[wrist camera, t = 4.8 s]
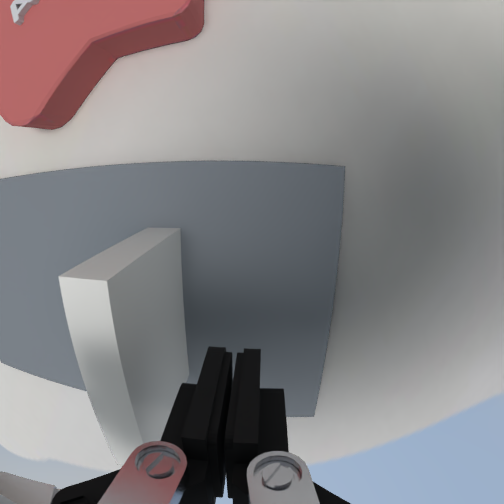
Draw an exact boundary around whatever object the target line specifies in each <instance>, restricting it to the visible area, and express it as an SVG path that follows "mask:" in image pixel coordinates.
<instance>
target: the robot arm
mask: <svg viewBox="0 0 504 504" xmlns="http://www.w3.org/2000/svg"><path fill="white" fill-rule="evenodd" d="M260 363H261V349H248V348H244V352H243V353H240V352H237V356H236V363H235V370H234V377H233V367H232V352H226V347H211V346H209V347H208V350H207V353H206V356H205V359H204V363H203V366H202V369H201V372H200V376H199V379H198V382H197V384H190V383H182V384H181V386H180V388H179V391H178V394H177V396H176V399H175V402H174V404H173V407H172V410H171V412H170V415H169V418H168V421H167V423H166V426H165V429H164V432H163V434H162V437H161V440H160V441H151V442H147V443H144V444H142V445H140V446H138V447H137V448H136V449H135V450H134V451H133V452H132V453H131V454H130V456H129V457H128V459H127V460H126V462H125V463H124V465H123V466H122V468H121V469H119V470H117V471H114V472H111V473H109V474H106V475H103V476H100V477H97V478H94V479H91V480H89V481H85V482H82V483H79V484H75V485H72V486H69V487H66V488H64V489H57V488H56V487H55V486H54V485H50V484H46V483H42V482H38V481H33V480H30V479H26V478H23V477H19V476H16V475H13V474H9V473H6V472H0V504H215V501H216V497H223V493H224V485H225V477H227V490H228V498H233V504H350V503H349V502H347V501H345V500H343V499H341V498H340V497H338V496H336V495H334V494H333V493H331V492H329V491H328V490H326V489H324V488H322V487H321V486H319V485H317V484H316V483H314V482H313V481H312V478H311V475H310V472H309V469H308V467H307V465H306V463H305V462H304V461H303V460H302V459H301V458H300V457H298V456H296V455H294V454H292V453H289V452H288V437H287V422H286V409H285V395H284V389H283V388H260Z"/></svg>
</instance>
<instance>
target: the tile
mask: <svg viewBox="0 0 504 504" xmlns="http://www.w3.org/2000/svg"><path fill="white" fill-rule="evenodd" d="M58 277H59V283H60V289H61V294H62V299H63V305H64V309H65V314H66V319H67V323H68V327H69V331H70V336H71V339H72V343H73V347H74V351H75V354H76V358H77V361H78V365H79V368H80V371H81V375H82V378H83V381H84V384H85V387H86V390H87V393H88V396H89V399H90V401H91V404H92V407H93V410H94V412H95V415H96V417H97V420H98V422H99V425H100V427H101V430H102V432H103V435H104V437H105V439H106V442H107V444H108V446H109V448H110V451H111V453H112V455H113V457H114V459H115V461H116V463H117V464H118V465H121V466H123V465H124V463H125V462H126V460H127V459H128V457H129V456H130V454H131V453H132V452H133V451H134V450H135V449H136V448H137V447H138V446H140V445H142V444H144V443H147V442H151V441H160V440H161V437H162V434H163V432H164V429H165V426H166V423H167V421H168V418H169V415H170V412H171V410H172V407H173V404H174V402H175V399H176V396H177V394H178V391H179V388H180V386H181V384H182V383H186V382H187V379H188V376H189V365H188V354H187V343H186V331H185V317H184V302H183V285H182V263H181V231H180V228H146V229H144V230H142V231H140V232H138V233H136V234H134V235H132V236H131V237H129V238H127V239H125V240H123V241H121V242H119V243H117V244H115V245H114V246H112V247H110V248H108V249H106V250H104V251H102V252H101V253H99V254H97V255H95V256H93V257H92V258H90V259H88V260H86V261H84V262H83V263H81V264H79V265H77V266H76V267H74V268H72V269H70V270H69V271H67V272H65V273H63V274H62V275H60V276H58Z"/></svg>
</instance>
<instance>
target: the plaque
mask: <svg viewBox="0 0 504 504" xmlns="http://www.w3.org/2000/svg"><path fill="white" fill-rule="evenodd" d="M203 25H204V0H0V115H1V116H2V117H3V119H4V120H5V121H6V122H7V123H9V124H11V125H12V126H22V127H32V128H42V129H51V130H52V129H56V128H59V127H62V126H63V125H64V124H66V123H67V122H68V121H69V120H70V119H71V118H72V117H73V116H74V115H75V113H76V112H77V110H78V109H79V107H80V106H81V104H82V103H83V102H84V100H85V99H86V97H87V96H88V95H89V93H90V92H91V91H92V89H93V88H94V86H95V85H96V84H97V83H98V81H99V80H100V79H101V77H102V76H103V75H104V74H105V72H106V71H107V70H108V69H109V67H110V66H111V65H112V64H113V62H114V61H115V60H116V59H117V58H119V57H123V56H126V55H129V54H133V53H136V52H140V51H143V50H147V49H151V48H155V47H159V46H163V45H167V44H172V43H176V42H181V41H186V40H189V39H191V38H194V37H196V36H197V35H198V34H199V33H200V32H201V30H202V28H203Z"/></svg>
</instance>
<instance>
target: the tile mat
mask: <svg viewBox="0 0 504 504" xmlns="http://www.w3.org/2000/svg"><path fill="white" fill-rule="evenodd" d="M344 180H345V166H334V165H321V164H306V163H287V162H261V161H177V162H152V163H133V164H119V165H106V166H95V167H84V168H75V169H66V170H58V171H50V172H43V173H36V174H29V175H23V176H16V177H10V178H5V179H0V360H1V363H3V364H6V365H8V366H11V367H13V368H16V369H19V370H21V371H24V372H27V373H30V374H32V375H35V376H38V377H41V378H44V379H47V380H50V381H53V382H56V383H60V384H63V385H66V386H70V387H73V388H77V389H81V390H84V391H87V390H86V387H85V384H84V381H83V378H82V375H81V371H80V368H79V365H78V361H77V358H76V354H75V351H74V347H73V343H72V339H71V336H70V331H69V327H68V323H67V319H66V314H65V309H64V305H63V299H62V294H61V289H60V283H59V277H58V276H60V275H62V274H63V273H65V272H67V271H69V270H70V269H72V268H74V267H76V266H77V265H79V264H81V263H83V262H84V261H86V260H88V259H90V258H92V257H93V256H95V255H97V254H99V253H101V252H102V251H104V250H106V249H108V248H110V247H112V246H114V245H115V244H117V243H119V242H121V241H123V240H125V239H127V238H129V237H131V236H132V235H134V234H136V233H138V232H140V231H142V230H144V229H146V228H180V231H181V263H182V285H183V302H184V317H185V331H186V343H187V354H188V365H189V376H188V379H187V382H186V383H190V384H197V382H198V379H199V376H200V372H201V369H202V366H203V363H204V359H205V356H206V353H207V350H208V347H209V346H211V347H226V352H232V367H233V377H234V370H235V363H236V356H237V352H240V353H243V352H244V348H248V349H261V363H260V388H283V389H284V395H285V409H286V417H313V416H314V414H315V409H316V404H317V399H318V394H319V389H320V384H321V379H322V373H323V368H324V362H325V356H326V350H327V344H328V338H329V331H330V324H331V317H332V310H333V303H334V295H335V287H336V278H337V269H338V260H339V250H340V239H341V227H342V214H343V198H344Z"/></svg>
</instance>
